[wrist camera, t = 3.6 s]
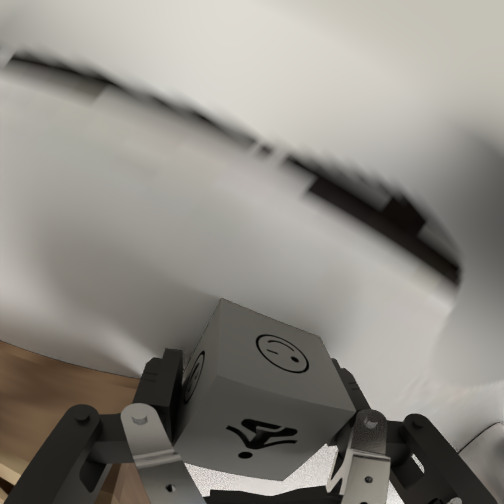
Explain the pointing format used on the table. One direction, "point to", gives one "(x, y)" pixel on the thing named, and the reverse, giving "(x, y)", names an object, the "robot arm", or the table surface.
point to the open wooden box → (57, 415)
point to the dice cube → (257, 397)
